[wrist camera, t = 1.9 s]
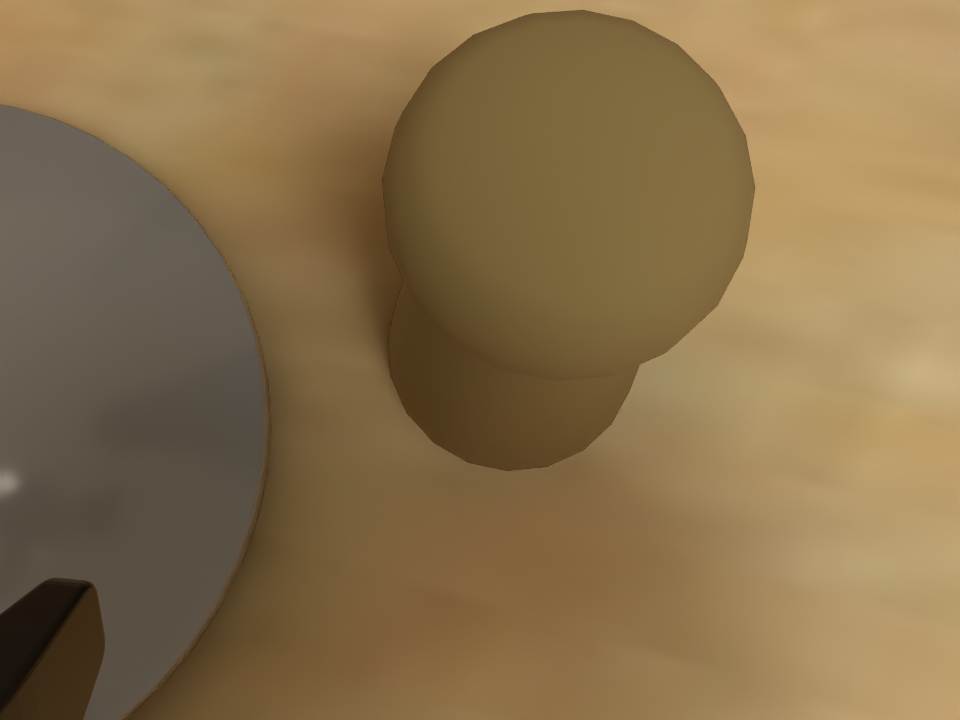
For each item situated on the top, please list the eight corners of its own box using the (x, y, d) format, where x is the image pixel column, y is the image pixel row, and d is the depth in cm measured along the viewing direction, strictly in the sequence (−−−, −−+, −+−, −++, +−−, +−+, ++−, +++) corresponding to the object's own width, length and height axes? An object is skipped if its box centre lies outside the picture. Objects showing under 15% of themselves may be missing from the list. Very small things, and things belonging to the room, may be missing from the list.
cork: (335, 363, 22) (237, 173, 11) (493, 181, 23) (541, -150, 12) (533, 524, 21) (633, 490, 10) (684, 329, 22) (914, 118, 12)
